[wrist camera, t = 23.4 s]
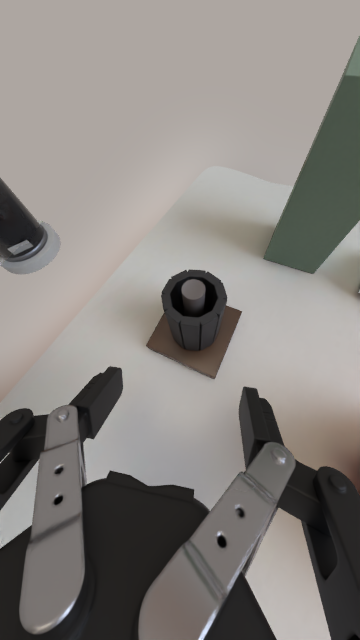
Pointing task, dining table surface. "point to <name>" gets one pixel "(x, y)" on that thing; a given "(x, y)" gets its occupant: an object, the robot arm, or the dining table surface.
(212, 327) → the ring sleeve
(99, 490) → the robot arm
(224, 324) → the peg stand
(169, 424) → the dining table surface
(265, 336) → the dining table surface
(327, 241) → the rectangular block
